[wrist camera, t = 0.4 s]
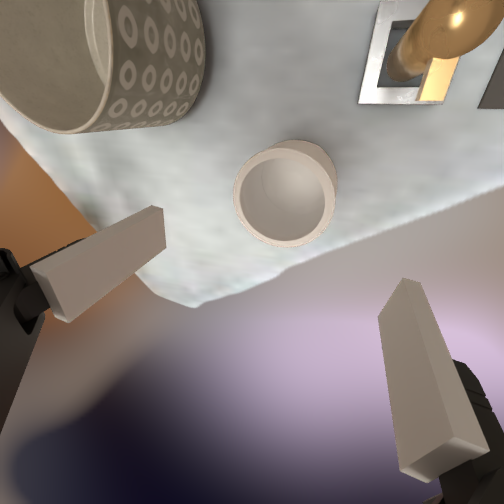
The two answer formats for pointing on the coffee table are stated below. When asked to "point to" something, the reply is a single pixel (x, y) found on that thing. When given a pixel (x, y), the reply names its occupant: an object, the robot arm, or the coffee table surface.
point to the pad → (495, 88)
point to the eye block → (388, 17)
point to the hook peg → (442, 42)
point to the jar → (286, 193)
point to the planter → (100, 62)
